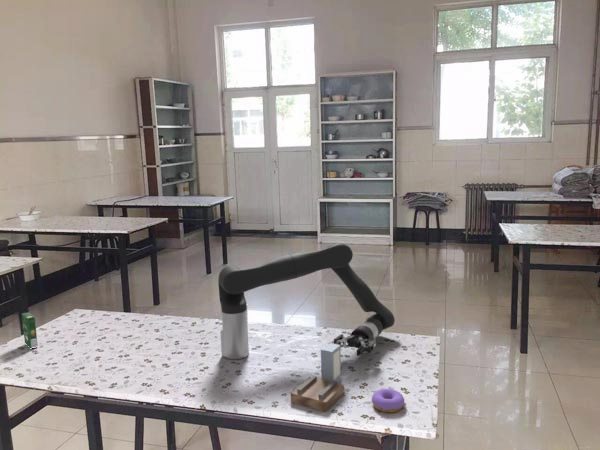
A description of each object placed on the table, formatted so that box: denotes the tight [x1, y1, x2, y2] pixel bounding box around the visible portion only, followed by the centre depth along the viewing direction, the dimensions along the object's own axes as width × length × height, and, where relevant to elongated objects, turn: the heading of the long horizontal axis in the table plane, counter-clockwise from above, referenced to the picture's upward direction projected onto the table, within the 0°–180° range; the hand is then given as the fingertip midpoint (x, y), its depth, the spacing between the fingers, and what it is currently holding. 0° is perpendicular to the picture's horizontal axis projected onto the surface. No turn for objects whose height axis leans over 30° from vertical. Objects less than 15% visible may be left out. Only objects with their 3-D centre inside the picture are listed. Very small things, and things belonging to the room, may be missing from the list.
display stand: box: [290, 375, 345, 413], centre depth 153 cm, size 12×12×4 cm
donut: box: [371, 388, 405, 413], centre depth 148 cm, size 10×9×5 cm
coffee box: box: [21, 312, 39, 349], centre depth 200 cm, size 8×3×13 cm, turn 44°
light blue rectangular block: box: [320, 342, 342, 383], centre depth 162 cm, size 4×6×12 cm
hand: (346, 350), depth 172 cm, fingers open, 8 cm apart
